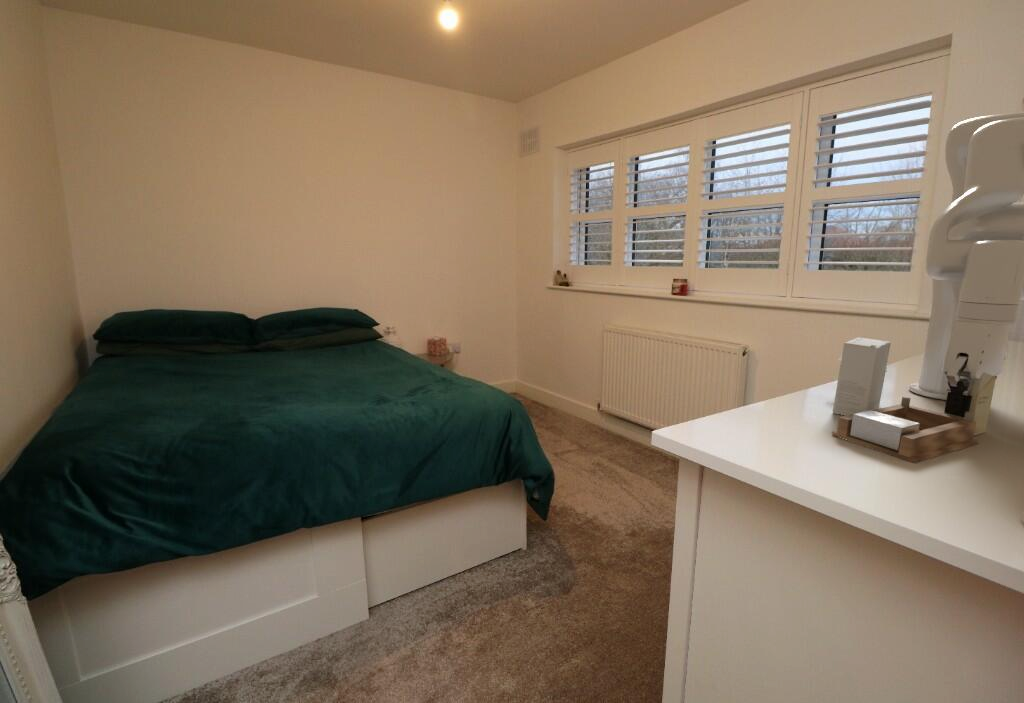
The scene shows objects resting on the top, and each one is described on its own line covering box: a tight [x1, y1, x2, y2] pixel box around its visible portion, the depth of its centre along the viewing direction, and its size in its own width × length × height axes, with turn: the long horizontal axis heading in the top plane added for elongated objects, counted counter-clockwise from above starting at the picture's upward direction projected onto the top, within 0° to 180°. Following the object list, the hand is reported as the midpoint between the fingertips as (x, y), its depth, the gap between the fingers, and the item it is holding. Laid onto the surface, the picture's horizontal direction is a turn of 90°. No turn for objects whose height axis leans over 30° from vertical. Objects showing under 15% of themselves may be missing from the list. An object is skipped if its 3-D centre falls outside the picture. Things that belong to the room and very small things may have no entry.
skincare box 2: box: [943, 372, 997, 436], centre depth 87 cm, size 6×4×12 cm
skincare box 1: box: [832, 336, 892, 416], centre depth 96 cm, size 8×6×15 cm
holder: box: [831, 396, 980, 464], centre depth 83 cm, size 19×13×5 cm, turn 115°
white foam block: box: [850, 410, 920, 450], centre depth 81 cm, size 5×7×4 cm
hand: (966, 411), depth 87 cm, fingers closed on skincare box 2, 6 cm apart
